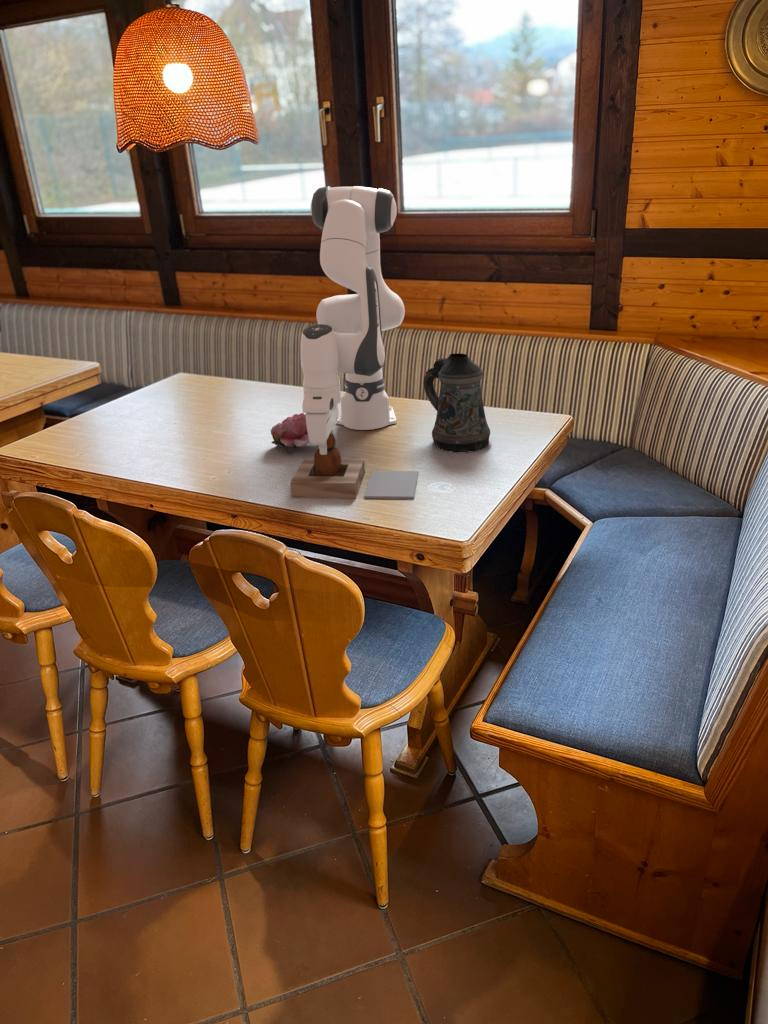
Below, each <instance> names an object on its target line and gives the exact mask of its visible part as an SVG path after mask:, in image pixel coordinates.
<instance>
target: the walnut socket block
mask: <svg viewBox="0 0 768 1024" xmlns="http://www.w3.org/2000/svg"><path fill="white" fill-rule="evenodd" d="M299 464H300V465H298V468H297V470H296V472H294V475H293V476H292V479H291V480H290V483H289V485H290V494H291V495H290V496H291V498H297V499H300V498H304V499H307V498H308V499H313V498H314V499H315V498H316V499H317V498H318V499H357V497H358V495H359V492H360V489H361V486H362V482H363V481H364V477H365V474H366V463H365V458H341V465H340V469H339V472H338V473H337V474H336V475H335V476H319V475H318V473H317V471H316V469H315V465H314V457H313V458H312V457H309V458H307V457H306V458H303V459H302V461H301V463H299Z"/></svg>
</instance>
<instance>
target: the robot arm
mask: <svg viewBox="0 0 768 1024" xmlns="http://www.w3.org/2000/svg"><path fill="white" fill-rule="evenodd" d="M397 210H398V208H397V202H396V200H395V196H394V194H393V193H392V192H391V190H388V189H384V188H382V187H381V188H380V187H378V189H377V188H374V187H368V186H367V187H366V186H362V185H360V186H359V185H357V186H356V185H354V186H334V187H331V186H329V185H328V186H322V187H319V188H317V189H316V191H315V192H314V193H313V194H312V199H311V201H310V215H311V218H312V222H313V223H314V225H315V226H316V227H317V228H318V229H320V230H322V234H321V240H320V241H321V242H320V249H319V263H320V266H321V269H322V271H323V272H324V275H326V277H328V279H330V280H331V281H332V282H334V283H336V284H338V285H339V286H342V287H344V288H346V289H348V290H350V291H353V292H355V293H353V294H339V295H333V296H331V297H326V298H323V299H321V301H320V302H319V304H318V305H317V309H316V313H315V314H316V316H315V317H316V321H317V324H312V325H309V326H308V327H306V328H304V329H303V330H302V332H301V335H300V336H301V337H300V365H301V366H300V367H301V369H302V373H303V380H302V389H303V391H302V392H303V394H302V395H303V401H302V409H301V410H302V413H304V414H306V425H307V432H308V438H309V441H310V442H309V443H310V445H311V446H314V445H315V446H317V445H318V446H319V450H320V454H321V455H326V454H327V452H328V446H327V443H326V442H327V439H328V437H329V435H330V433H333V434H334V427H335V426H336V425H335V424H338V425H341V426H343V427H345V428H347V429H351V430H358V431H368V430H369V431H370V430H375V429H376V430H378V429H380V428H381V429H382V428H384V427H386V426H390V425H394V424H397V423H398V421H397V417H396V414H395V411H394V407H393V406H391V405H390V398H389V396H388V394H387V392H386V391H385V389H386V388H385V383H386V382H385V378H384V376H383V367H384V364H385V358H386V357H385V356H386V354H385V348H384V340H383V332H384V331H388V330H392V329H395V328H399V327H400V326H401V324H402V323H403V321H404V318H405V314H406V309H405V307H406V306H405V305H404V302H403V300H402V297H400V296H399V295H398V294H397V293H396V292H394V291H393V290H391V289H390V288H389V287H388V285H387V284H386V282H385V280H384V278H383V274H382V267H381V238H380V234H381V233H382V234H383V233H385V232H389V230H390V229H391V228H393V226H394V222H395V221H396V218H397V212H398V211H397ZM339 374H345V378H344V391H345V393H344V394H343V395H341V393H342V392H341V381H340V377H339ZM339 404H340V415H339Z"/></svg>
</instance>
